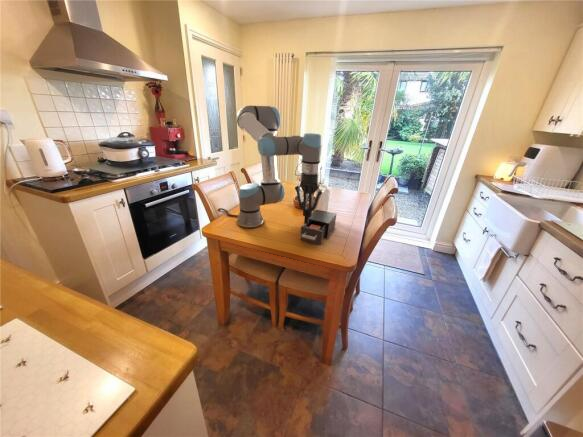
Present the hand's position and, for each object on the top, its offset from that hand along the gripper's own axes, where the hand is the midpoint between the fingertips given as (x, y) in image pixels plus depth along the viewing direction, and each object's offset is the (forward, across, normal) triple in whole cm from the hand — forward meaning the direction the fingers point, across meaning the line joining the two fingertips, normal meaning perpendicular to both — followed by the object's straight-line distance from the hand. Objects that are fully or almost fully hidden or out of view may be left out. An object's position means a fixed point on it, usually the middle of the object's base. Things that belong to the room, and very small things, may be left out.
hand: (306, 222), depth 109 cm
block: (+14, 0, +13) cm, 19 cm away
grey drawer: (+15, 0, +12) cm, 19 cm away
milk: (+16, -6, +42) cm, 45 cm away
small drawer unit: (+16, 0, +24) cm, 29 cm away
